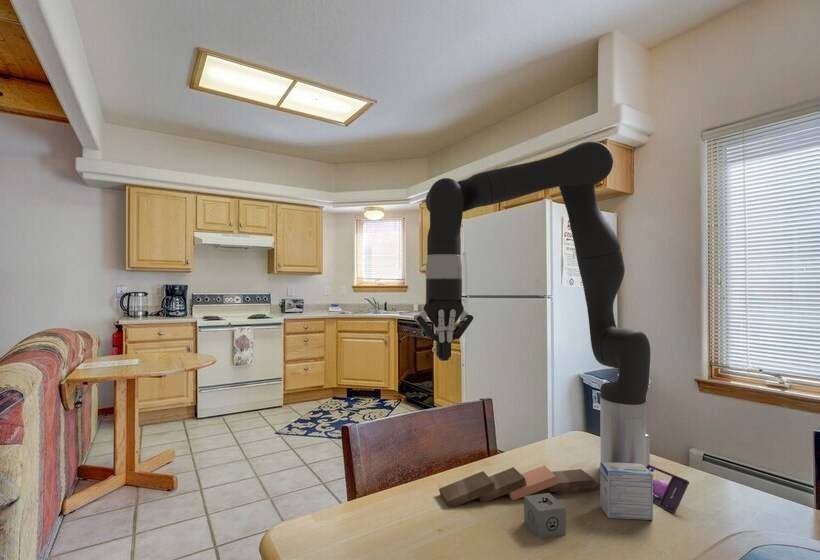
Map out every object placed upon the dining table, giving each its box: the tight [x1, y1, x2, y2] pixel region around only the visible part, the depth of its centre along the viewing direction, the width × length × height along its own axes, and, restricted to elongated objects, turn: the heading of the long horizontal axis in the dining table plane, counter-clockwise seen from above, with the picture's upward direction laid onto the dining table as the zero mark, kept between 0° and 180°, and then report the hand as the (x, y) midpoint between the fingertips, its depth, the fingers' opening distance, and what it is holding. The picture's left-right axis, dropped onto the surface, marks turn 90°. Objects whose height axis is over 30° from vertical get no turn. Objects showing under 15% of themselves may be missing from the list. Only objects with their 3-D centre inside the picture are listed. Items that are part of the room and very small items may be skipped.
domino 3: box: [506, 465, 558, 501], centre depth 85 cm, size 2×5×10 cm
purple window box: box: [646, 464, 690, 515], centre depth 82 cm, size 7×5×9 cm
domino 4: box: [546, 468, 596, 493], centre depth 87 cm, size 2×5×10 cm
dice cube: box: [523, 492, 567, 539], centre depth 72 cm, size 5×5×5 cm
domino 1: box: [438, 470, 496, 508], centre depth 82 cm, size 2×5×10 cm
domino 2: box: [477, 466, 527, 503], centre depth 84 cm, size 2×5×10 cm
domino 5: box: [555, 480, 600, 495], centre depth 88 cm, size 2×5×10 cm
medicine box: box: [599, 461, 654, 521], centre depth 77 cm, size 8×4×9 cm, turn 84°
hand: (443, 359), depth 86 cm, fingers closed
